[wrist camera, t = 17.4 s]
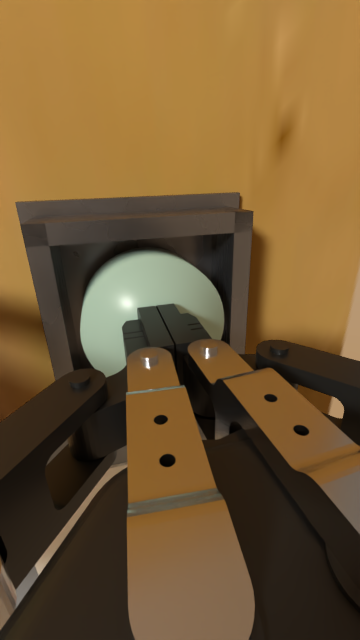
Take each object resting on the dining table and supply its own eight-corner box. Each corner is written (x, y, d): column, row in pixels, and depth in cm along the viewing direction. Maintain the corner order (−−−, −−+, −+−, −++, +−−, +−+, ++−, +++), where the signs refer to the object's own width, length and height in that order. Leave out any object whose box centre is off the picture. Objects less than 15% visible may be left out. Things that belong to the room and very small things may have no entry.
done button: (207, 356, 17) (222, 379, 15) (92, 374, 16) (91, 401, 14) (208, 242, 14) (226, 251, 13) (71, 252, 13) (67, 265, 11)
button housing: (229, 365, 20) (252, 397, 17) (60, 393, 18) (53, 434, 15) (236, 192, 16) (268, 194, 13) (17, 201, 13) (-3, 207, 11)
